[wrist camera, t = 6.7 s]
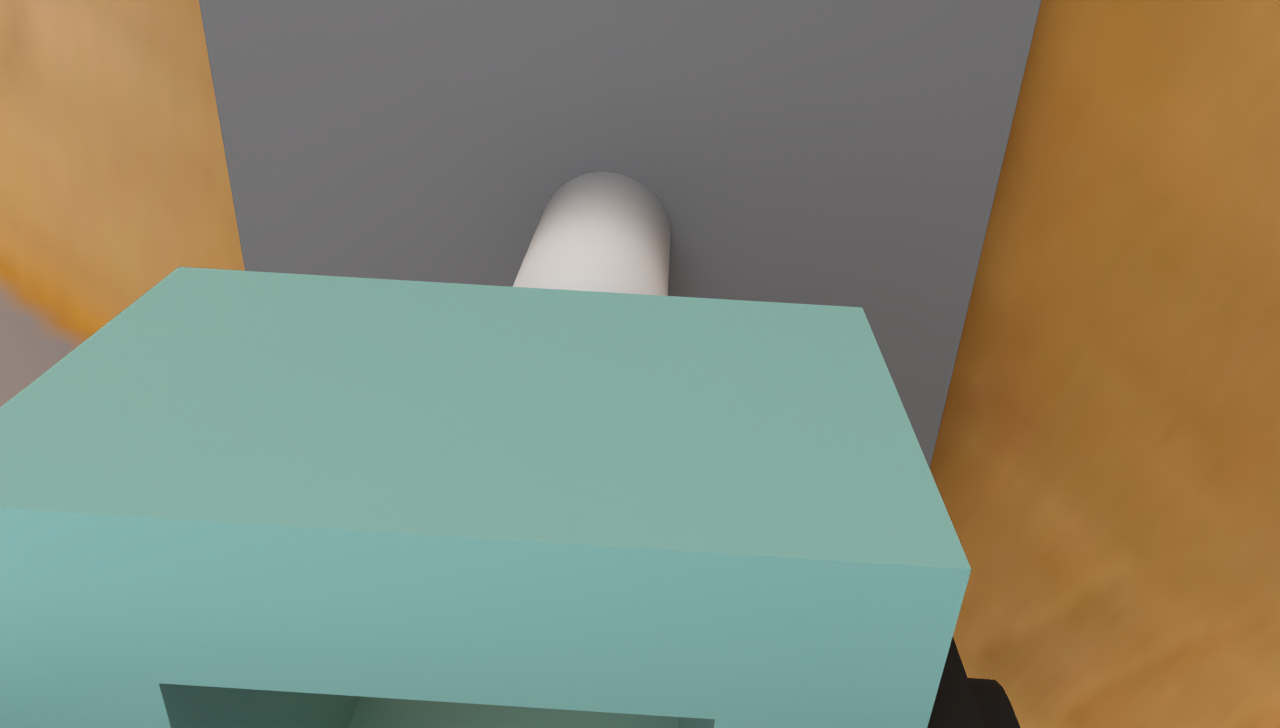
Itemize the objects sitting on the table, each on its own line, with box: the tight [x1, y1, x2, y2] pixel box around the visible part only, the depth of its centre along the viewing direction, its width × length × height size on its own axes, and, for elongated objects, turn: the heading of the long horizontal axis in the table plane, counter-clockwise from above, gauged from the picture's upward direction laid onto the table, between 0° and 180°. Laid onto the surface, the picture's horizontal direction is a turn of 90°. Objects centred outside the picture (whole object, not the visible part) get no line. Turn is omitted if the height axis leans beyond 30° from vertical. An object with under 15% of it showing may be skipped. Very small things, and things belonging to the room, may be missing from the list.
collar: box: [0, 267, 971, 728], centre depth 9 cm, size 7×7×4 cm
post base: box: [199, 0, 1041, 469], centre depth 18 cm, size 16×16×7 cm
